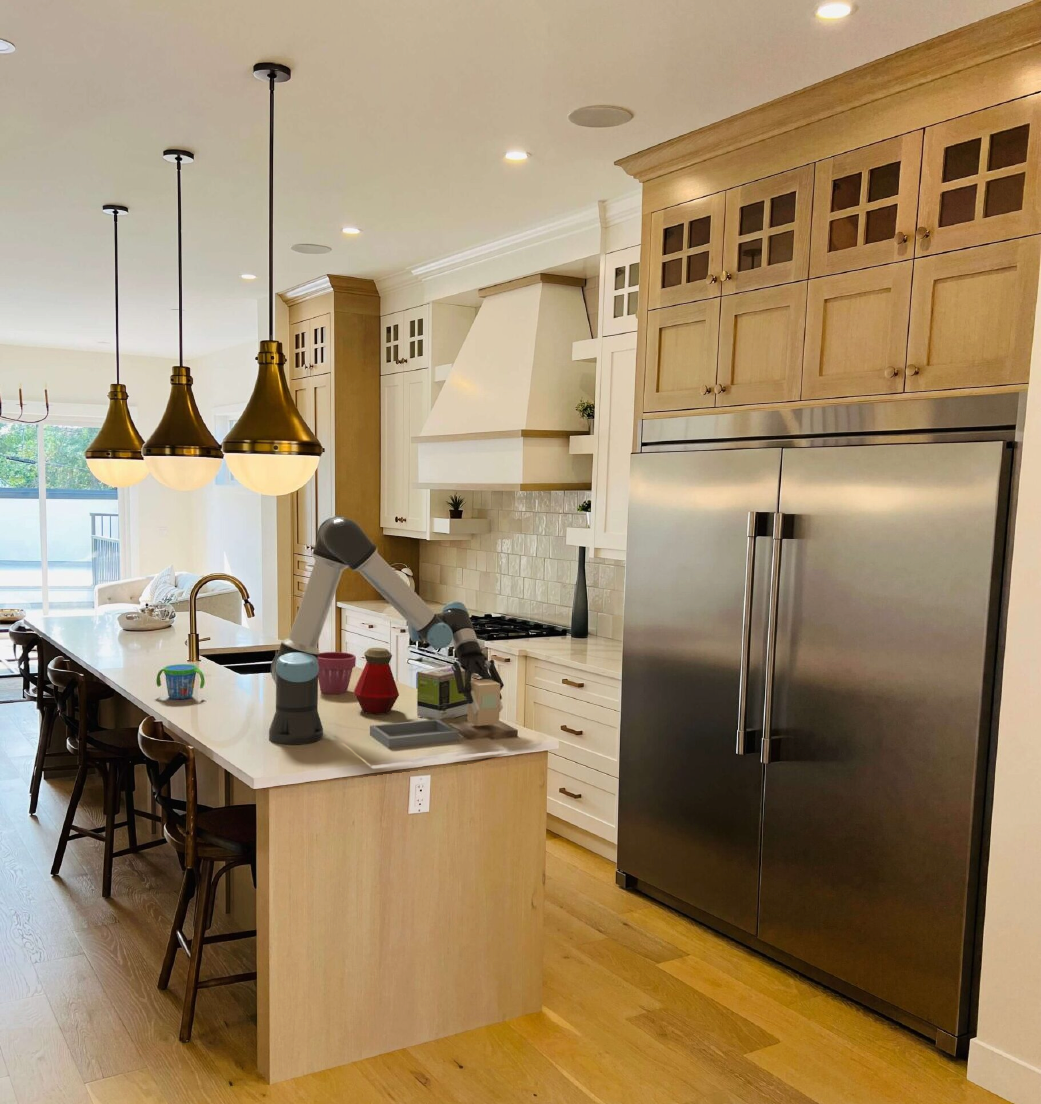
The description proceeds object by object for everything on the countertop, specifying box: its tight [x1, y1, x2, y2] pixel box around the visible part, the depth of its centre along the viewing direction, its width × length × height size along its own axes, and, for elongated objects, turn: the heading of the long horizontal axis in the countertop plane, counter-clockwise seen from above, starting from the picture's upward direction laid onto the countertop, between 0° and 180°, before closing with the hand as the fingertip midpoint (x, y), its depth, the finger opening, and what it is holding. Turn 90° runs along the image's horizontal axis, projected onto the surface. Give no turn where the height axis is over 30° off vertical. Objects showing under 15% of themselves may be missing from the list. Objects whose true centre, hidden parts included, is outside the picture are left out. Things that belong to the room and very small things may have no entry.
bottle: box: [353, 647, 400, 715], centre depth 309 cm, size 16×14×20 cm
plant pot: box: [317, 651, 357, 695], centre depth 335 cm, size 14×14×13 cm
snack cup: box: [155, 663, 205, 700], centre depth 318 cm, size 16×10×10 cm
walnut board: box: [448, 720, 519, 740], centre depth 287 cm, size 16×14×2 cm
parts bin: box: [369, 718, 460, 750], centre depth 277 cm, size 21×15×4 cm
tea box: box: [416, 665, 468, 721], centre depth 307 cm, size 15×10×15 cm, turn 141°
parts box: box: [466, 679, 501, 726], centre depth 286 cm, size 7×7×12 cm
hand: (488, 710), depth 284 cm, fingers closed on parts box, 7 cm apart
